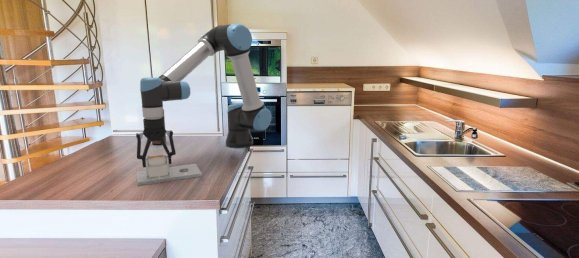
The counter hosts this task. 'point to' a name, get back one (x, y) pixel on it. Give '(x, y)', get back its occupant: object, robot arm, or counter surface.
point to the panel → (170, 174)
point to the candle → (163, 136)
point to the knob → (157, 165)
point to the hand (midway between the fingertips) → (158, 173)
